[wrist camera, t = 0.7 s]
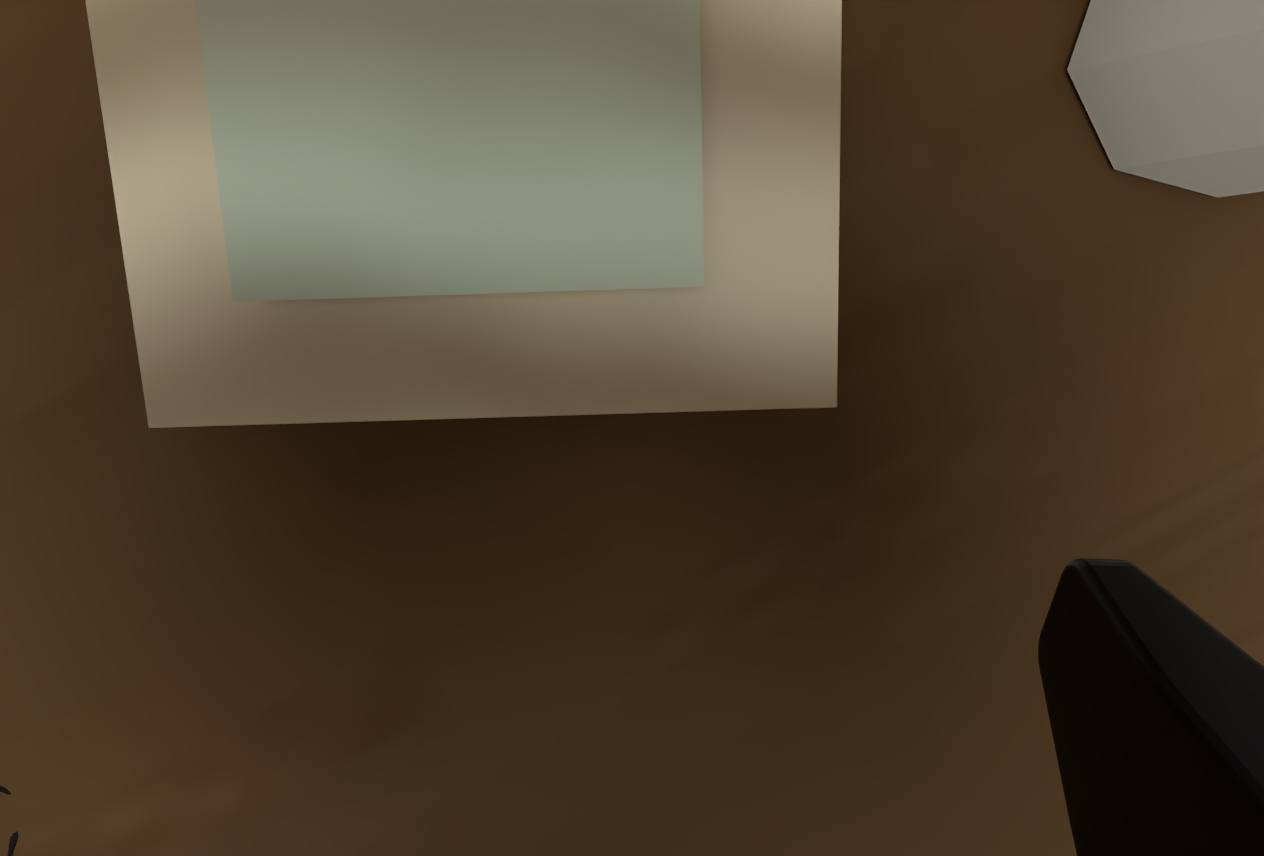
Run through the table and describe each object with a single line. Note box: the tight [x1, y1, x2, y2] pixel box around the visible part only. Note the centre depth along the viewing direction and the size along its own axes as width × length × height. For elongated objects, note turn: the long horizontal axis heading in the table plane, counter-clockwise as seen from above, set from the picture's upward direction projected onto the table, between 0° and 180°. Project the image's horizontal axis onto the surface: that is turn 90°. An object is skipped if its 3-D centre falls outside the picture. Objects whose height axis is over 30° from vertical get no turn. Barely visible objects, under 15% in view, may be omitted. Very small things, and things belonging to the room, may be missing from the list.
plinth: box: [85, 0, 842, 428], centre depth 18 cm, size 13×13×3 cm
